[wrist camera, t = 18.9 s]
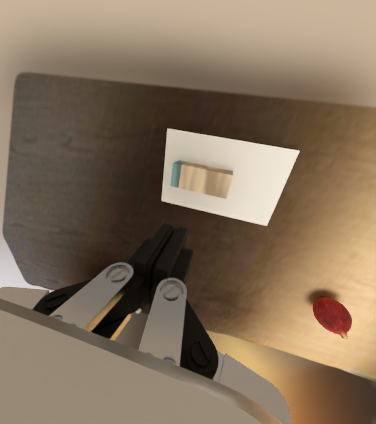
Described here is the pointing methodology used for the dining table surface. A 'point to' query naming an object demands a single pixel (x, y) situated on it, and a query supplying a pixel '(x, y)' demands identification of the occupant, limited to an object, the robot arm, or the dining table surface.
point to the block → (201, 178)
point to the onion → (332, 316)
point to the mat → (242, 174)
